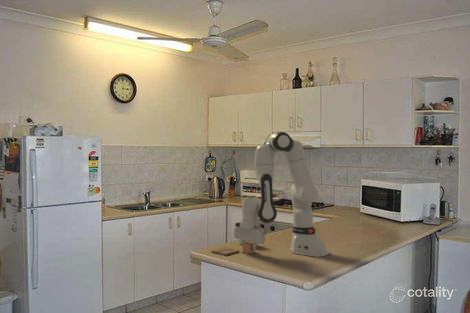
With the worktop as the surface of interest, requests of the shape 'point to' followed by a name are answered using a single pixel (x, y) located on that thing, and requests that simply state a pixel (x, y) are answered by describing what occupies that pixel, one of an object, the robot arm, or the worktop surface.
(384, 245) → the worktop surface
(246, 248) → the terracotta cube
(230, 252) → the walnut board
